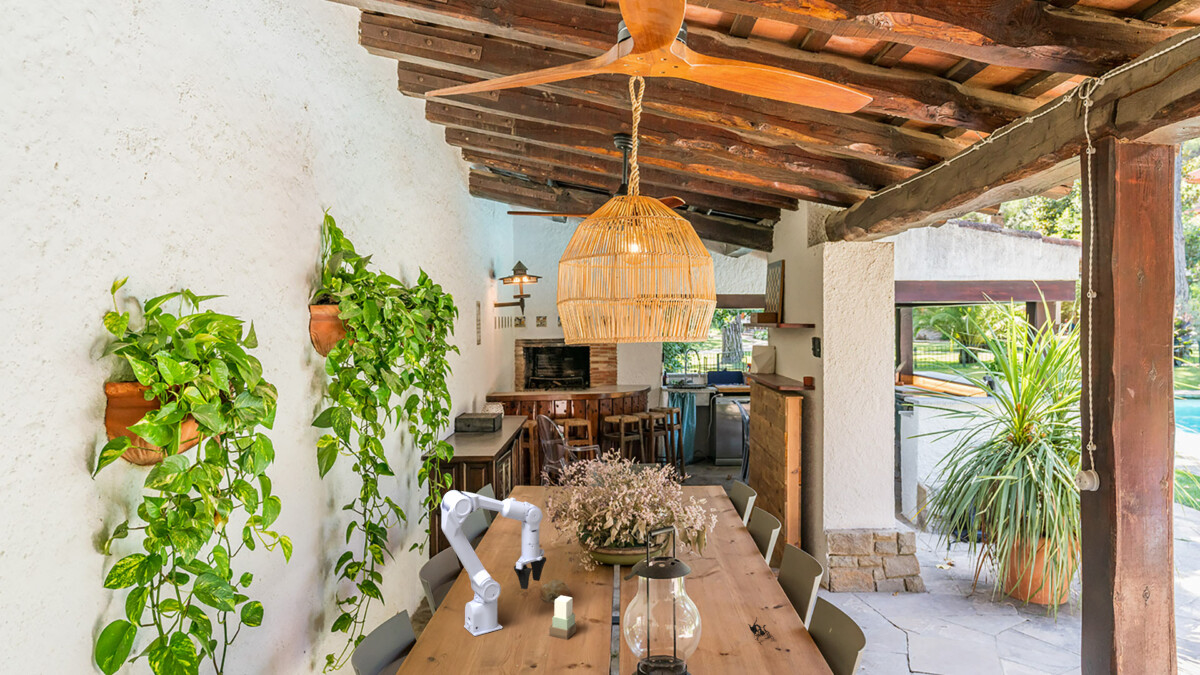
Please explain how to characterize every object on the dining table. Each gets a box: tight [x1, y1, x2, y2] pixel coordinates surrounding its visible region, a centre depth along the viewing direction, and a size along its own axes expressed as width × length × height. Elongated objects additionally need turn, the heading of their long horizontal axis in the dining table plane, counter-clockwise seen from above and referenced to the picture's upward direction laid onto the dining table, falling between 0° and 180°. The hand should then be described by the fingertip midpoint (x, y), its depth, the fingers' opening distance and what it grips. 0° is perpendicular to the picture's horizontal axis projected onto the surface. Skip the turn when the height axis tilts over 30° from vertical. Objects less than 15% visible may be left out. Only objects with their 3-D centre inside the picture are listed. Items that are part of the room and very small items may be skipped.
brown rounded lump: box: [539, 578, 570, 604], centre depth 227 cm, size 10×10×8 cm
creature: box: [747, 616, 775, 642], centre depth 197 cm, size 8×5×8 cm
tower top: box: [551, 612, 576, 630], centre depth 199 cm, size 5×5×3 cm
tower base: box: [548, 622, 577, 641], centre depth 199 cm, size 6×6×3 cm
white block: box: [553, 595, 573, 619], centre depth 199 cm, size 4×4×5 cm
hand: (530, 584), depth 211 cm, fingers open, 7 cm apart
